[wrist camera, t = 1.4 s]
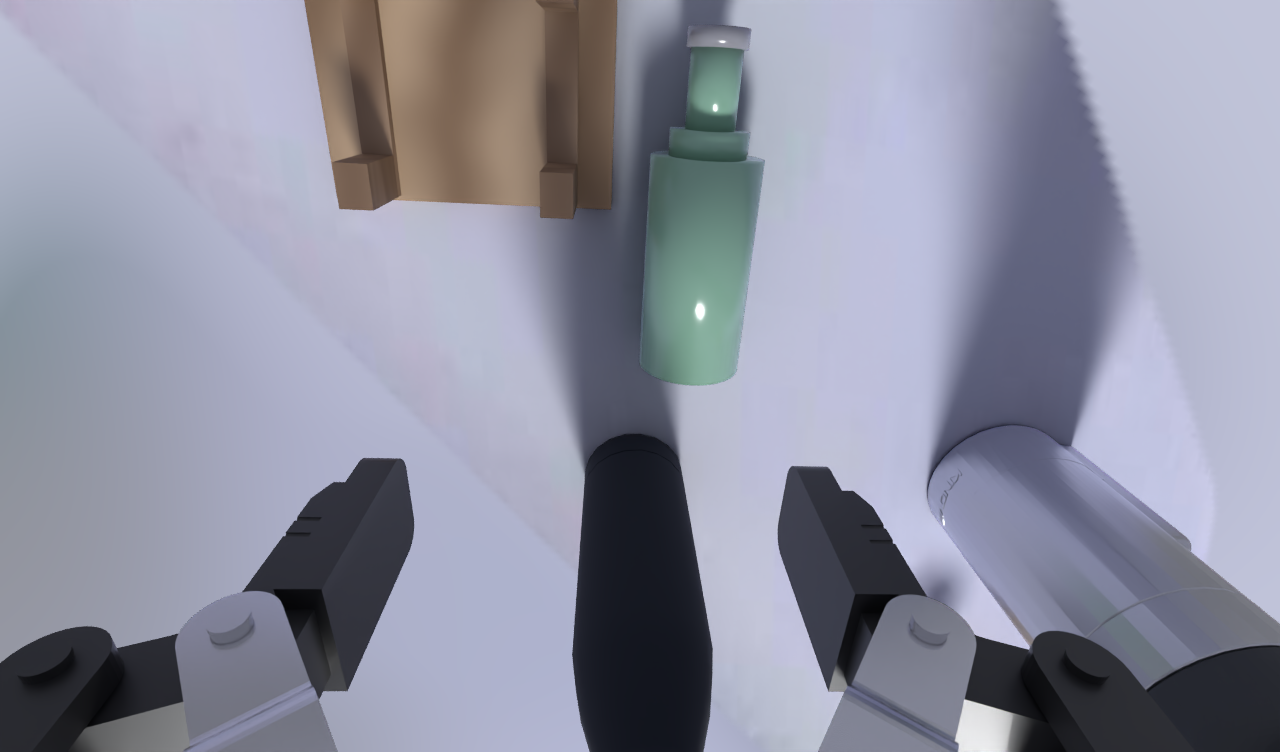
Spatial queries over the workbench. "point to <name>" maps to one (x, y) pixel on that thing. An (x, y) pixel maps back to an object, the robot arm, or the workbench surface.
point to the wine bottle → (640, 605)
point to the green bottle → (701, 222)
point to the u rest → (468, 101)
